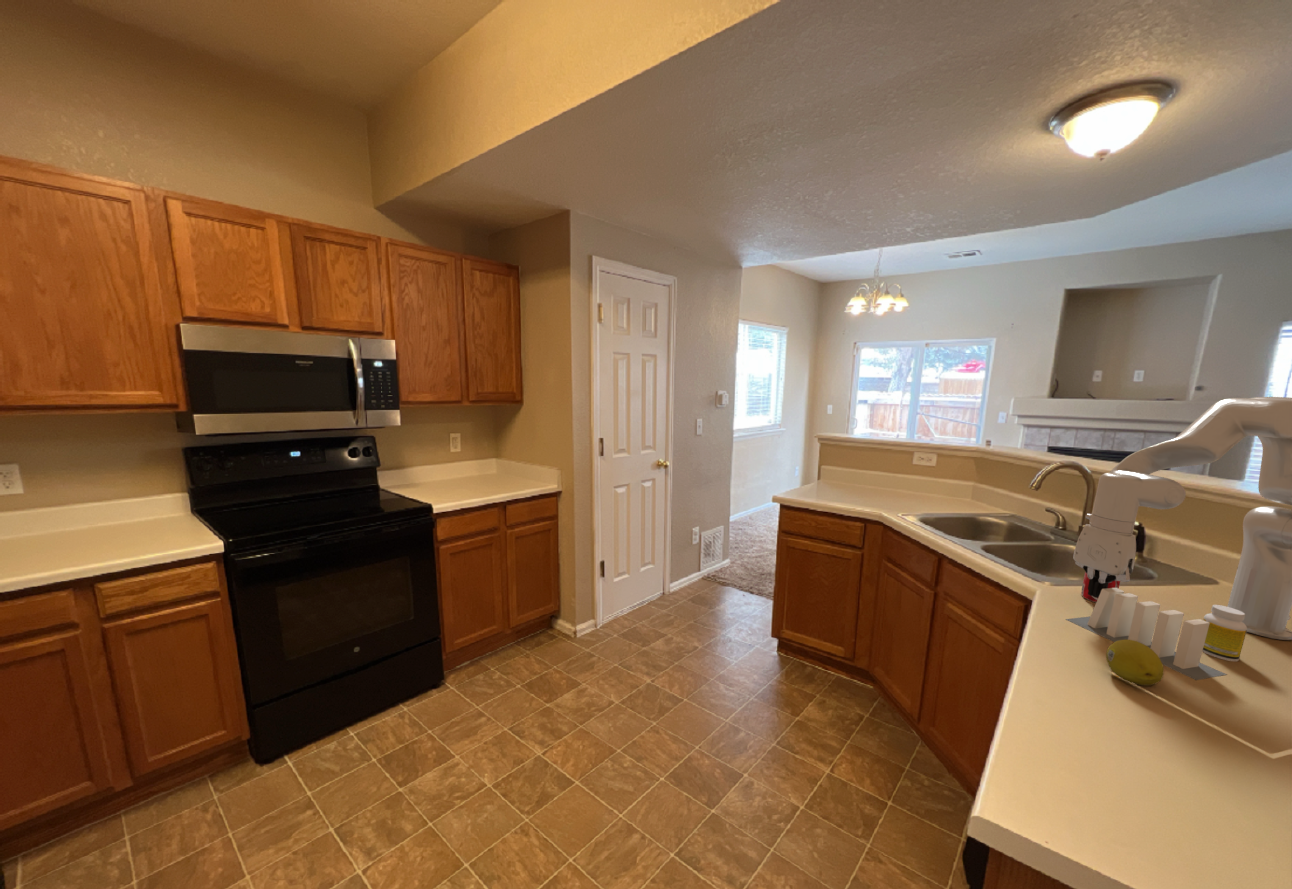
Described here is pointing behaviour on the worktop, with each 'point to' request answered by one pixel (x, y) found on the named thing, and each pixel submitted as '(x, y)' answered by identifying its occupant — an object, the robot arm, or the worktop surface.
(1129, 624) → the domino
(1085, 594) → the soda can
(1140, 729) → the worktop surface
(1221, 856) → the worktop surface
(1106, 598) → the domino
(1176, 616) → the domino
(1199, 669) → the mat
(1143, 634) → the domino
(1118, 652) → the mango
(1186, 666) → the domino
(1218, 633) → the pill bottle
